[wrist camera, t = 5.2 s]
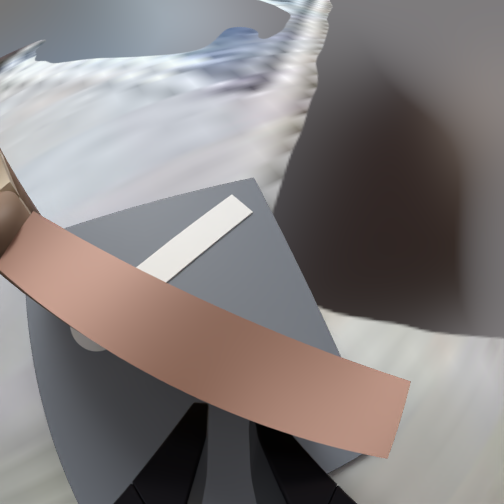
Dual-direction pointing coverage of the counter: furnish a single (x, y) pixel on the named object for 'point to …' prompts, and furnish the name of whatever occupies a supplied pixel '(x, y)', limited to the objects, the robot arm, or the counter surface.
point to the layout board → (149, 387)
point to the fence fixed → (14, 184)
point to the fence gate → (199, 340)
